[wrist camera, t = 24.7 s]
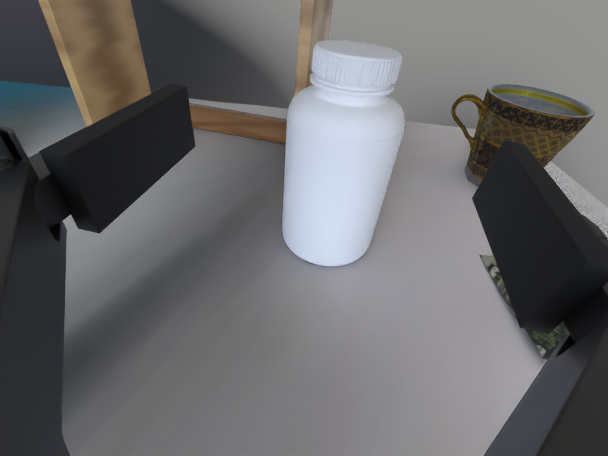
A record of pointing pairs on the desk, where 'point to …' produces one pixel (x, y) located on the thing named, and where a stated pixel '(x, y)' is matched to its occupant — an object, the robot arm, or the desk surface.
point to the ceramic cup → (521, 124)
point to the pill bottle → (340, 151)
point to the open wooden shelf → (131, 69)
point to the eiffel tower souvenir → (540, 339)
